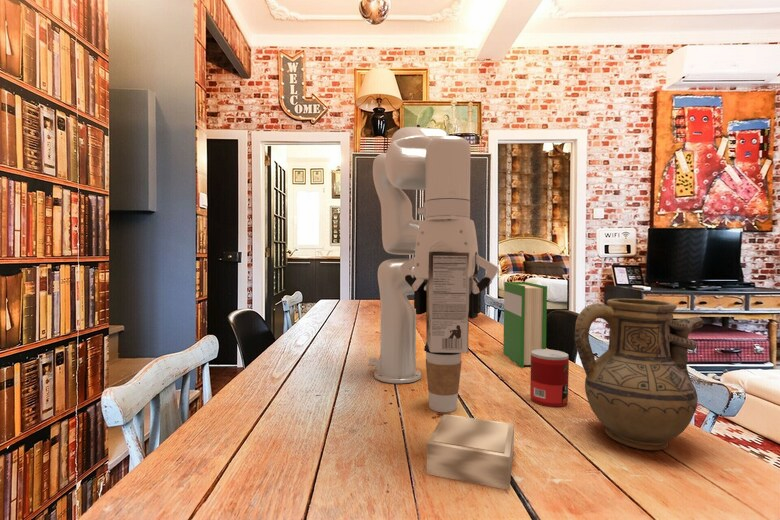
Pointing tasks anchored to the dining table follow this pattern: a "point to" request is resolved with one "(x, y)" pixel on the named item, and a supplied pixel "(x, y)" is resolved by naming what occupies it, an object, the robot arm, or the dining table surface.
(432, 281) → the coffee box
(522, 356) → the hardback book
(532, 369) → the canned food
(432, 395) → the coffee cup
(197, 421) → the dining table surface
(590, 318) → the decorative pitcher
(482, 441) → the beige square tray
